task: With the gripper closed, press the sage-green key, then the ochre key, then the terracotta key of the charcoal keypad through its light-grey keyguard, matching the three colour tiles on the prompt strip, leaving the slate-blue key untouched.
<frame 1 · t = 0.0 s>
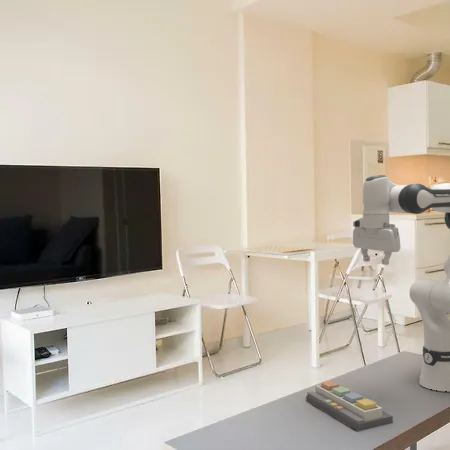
hand: (375, 262, 186), 48 cm above the table, tool pointing down, fingers open, 8 cm apart
key terracotta: (330, 387, 186), point 5 cm above the table, slide at 0.0 cm
key sage: (341, 393, 181), point 5 cm above the table, slide at 0.0 cm
coloured button panel: (347, 411, 178), on the table
key slate: (353, 399, 175), point 5 cm above the table, slide at 0.0 cm
key ochre: (366, 405, 170), point 5 cm above the table, slide at 0.0 cm
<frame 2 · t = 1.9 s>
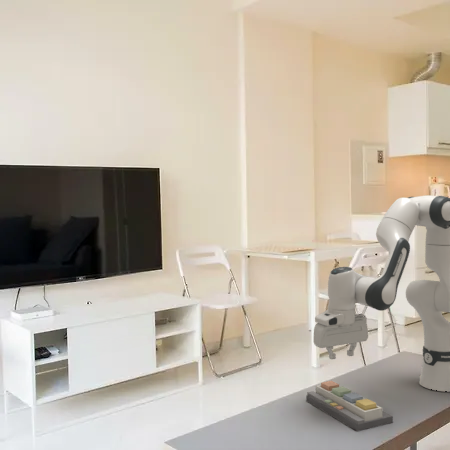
hand: (341, 357, 180), 17 cm above the table, tool pointing down, fingers open, 6 cm apart
nothing on the table moved.
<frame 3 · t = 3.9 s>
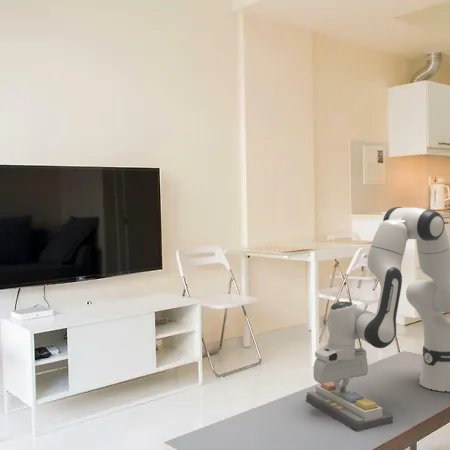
hand: (341, 391, 180), 6 cm above the table, tool pointing down, fingers closed, pressing on key sage
key sage: (341, 395, 181), point 4 cm above the table, slide at 0.8 cm, touching gripper
everything else where it was.
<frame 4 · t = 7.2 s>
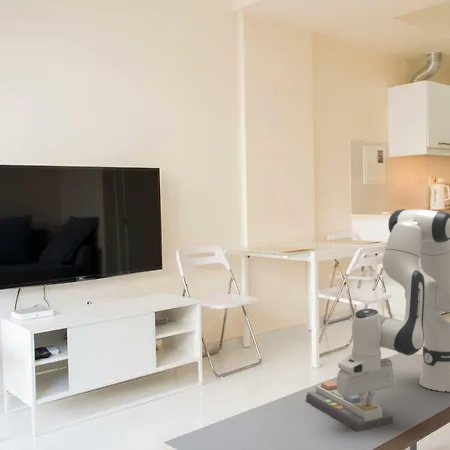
hand: (366, 405, 169), 5 cm above the table, tool pointing down, fingers closed, pressing on key ochre
key sage: (341, 396, 181), point 4 cm above the table, slide at 1.1 cm
key ochre: (366, 409, 170), point 4 cm above the table, slide at 1.0 cm, touching gripper
everything else where it was.
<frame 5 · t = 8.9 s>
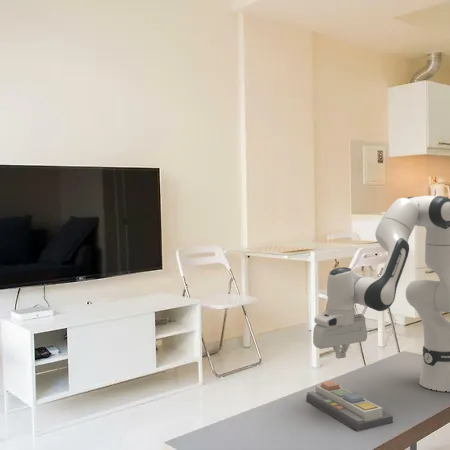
hand: (340, 357, 180), 17 cm above the table, tool pointing down, fingers closed
key ochre: (366, 409, 170), point 4 cm above the table, slide at 1.1 cm
everything else where it was.
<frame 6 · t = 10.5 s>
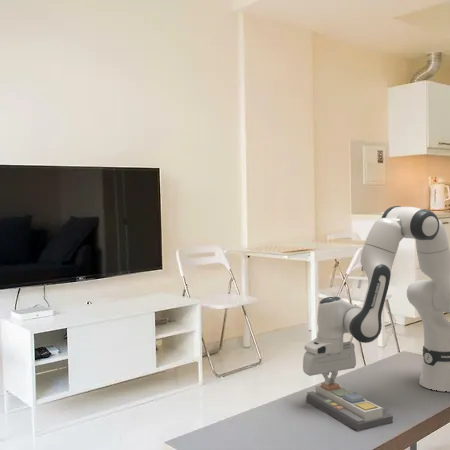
hand: (329, 384, 186), 6 cm above the table, tool pointing down, fingers closed, pressing on key terracotta
key terracotta: (330, 387, 186), point 5 cm above the table, slide at 0.1 cm, touching gripper
everything else where it was.
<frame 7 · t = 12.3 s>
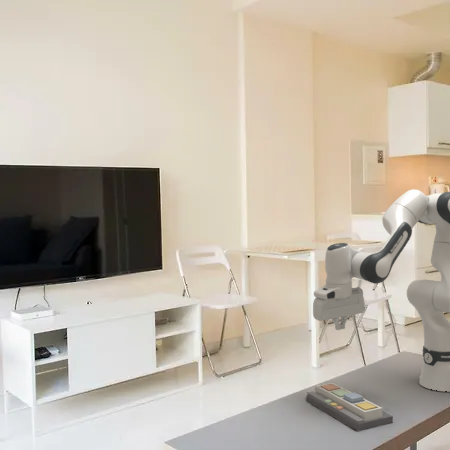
hand: (340, 329, 189), 24 cm above the table, tool pointing down, fingers closed
key terracotta: (330, 390, 186), point 4 cm above the table, slide at 1.1 cm
everything else where it was.
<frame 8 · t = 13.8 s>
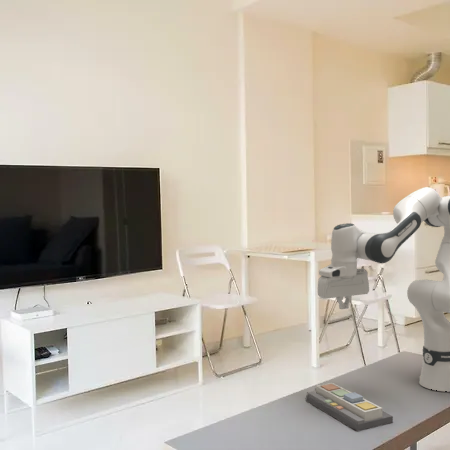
hand: (343, 308, 191), 31 cm above the table, tool pointing down, fingers closed
nothing on the table moved.
at the end: key sage slide at 1.1 cm; key ochre slide at 1.1 cm; key terracotta slide at 1.1 cm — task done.
